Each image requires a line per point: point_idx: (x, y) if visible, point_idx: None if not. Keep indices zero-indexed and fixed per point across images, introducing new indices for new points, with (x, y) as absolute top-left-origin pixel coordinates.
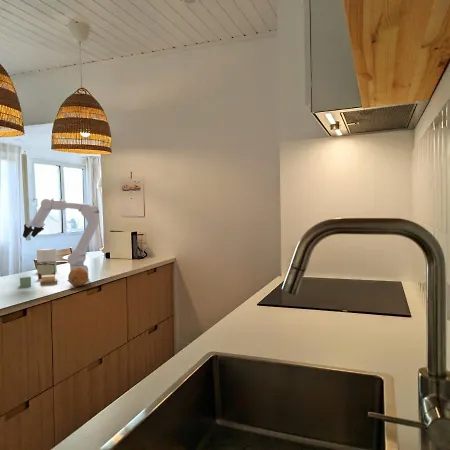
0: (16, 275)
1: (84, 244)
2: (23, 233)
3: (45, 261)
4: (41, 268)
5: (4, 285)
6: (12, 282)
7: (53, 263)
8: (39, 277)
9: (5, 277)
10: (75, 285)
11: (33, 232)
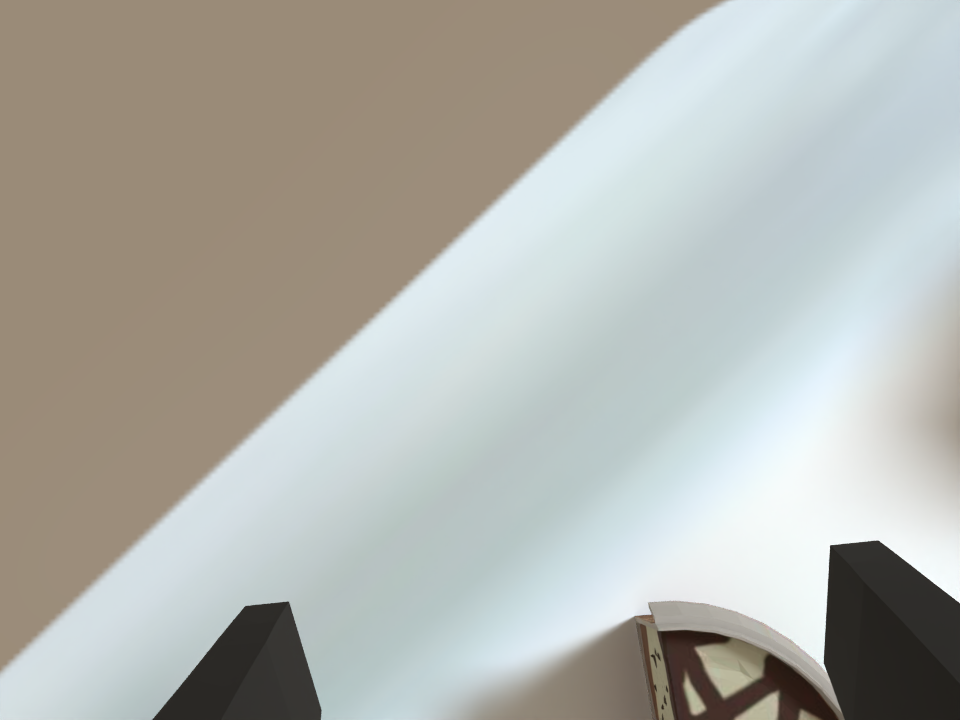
0: (853, 53)
1: None
2: (180, 701)
3: (835, 707)
4: (665, 704)
5: (191, 492)
6: (378, 430)
7: None
8: (642, 636)
9: (683, 39)
10: None
11: (922, 709)
